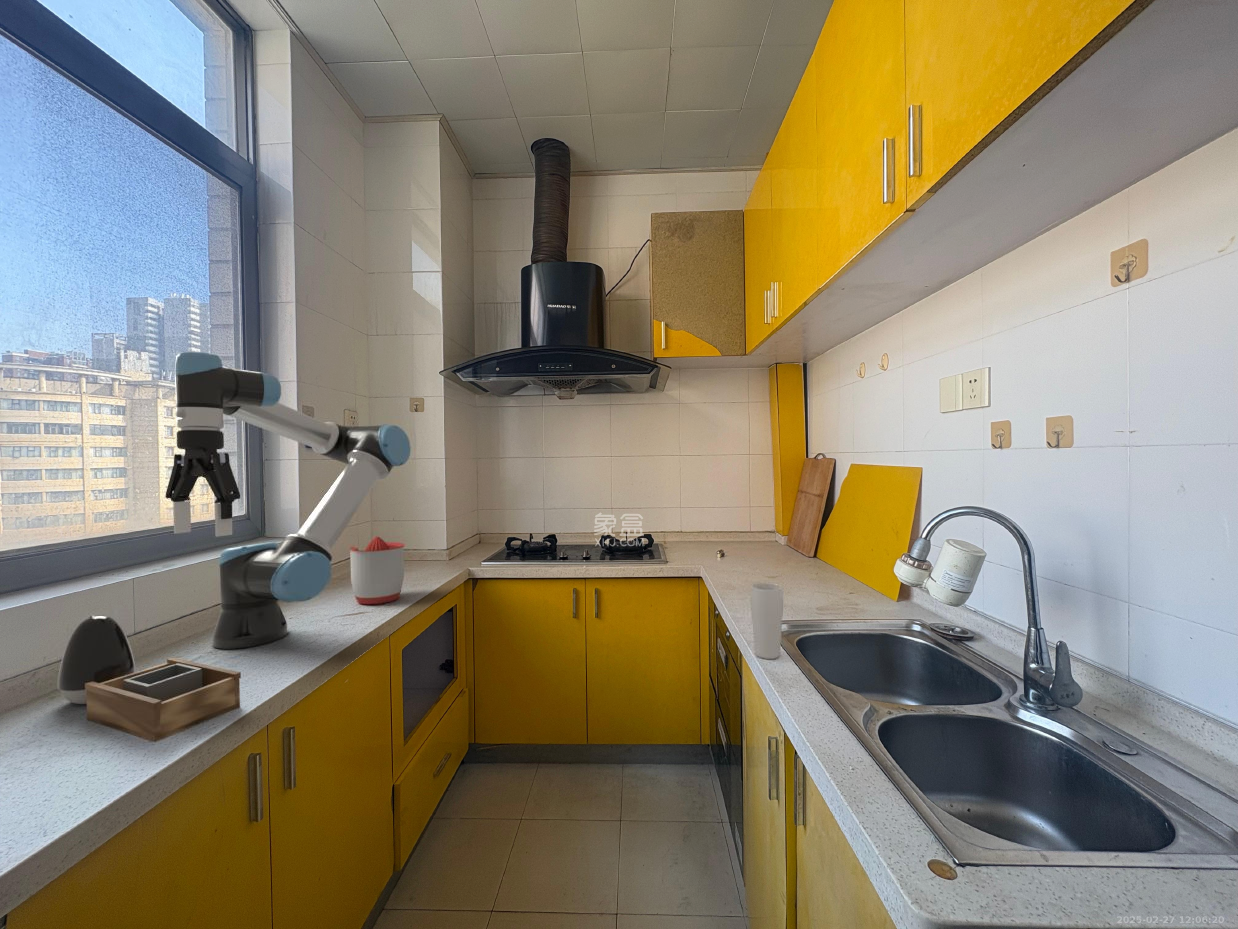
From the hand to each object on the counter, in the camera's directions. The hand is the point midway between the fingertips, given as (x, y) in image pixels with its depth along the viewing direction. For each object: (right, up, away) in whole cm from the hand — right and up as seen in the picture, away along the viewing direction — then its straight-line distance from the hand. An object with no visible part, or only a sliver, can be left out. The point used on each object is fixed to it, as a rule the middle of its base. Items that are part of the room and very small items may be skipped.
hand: (202, 534), depth 108 cm
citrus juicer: (+9, -28, +57) cm, 65 cm away
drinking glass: (+117, -27, +7) cm, 120 cm away
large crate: (+6, -29, -16) cm, 34 cm away
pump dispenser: (-12, -29, -10) cm, 33 cm away
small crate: (+6, -28, -17) cm, 33 cm away
